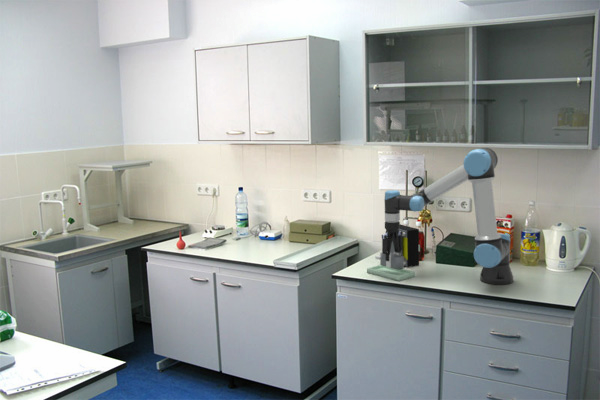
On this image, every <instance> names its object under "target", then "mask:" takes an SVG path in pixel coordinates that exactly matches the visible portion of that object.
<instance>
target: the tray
mask: <svg viewBox="0 0 600 400" xmlns="http://www.w3.org/2000/svg"><path fill="white" fill-rule="evenodd" d="M366 273H367V274H371V275H373V276H377V277H381V278H385V279H389V280H392V281H396V282H402V281H405V280H409V279H411V278H415V277H416V272H415V271H413V270H410V269H409V270H408V269H405V268H404V269H401V270H397V269H393V268H389V267H386V266H382V265H380V264H379V265H374V266H371V267H367V268H366Z"/></svg>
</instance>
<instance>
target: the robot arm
mask: <svg viewBox="0 0 600 400" xmlns="http://www.w3.org/2000/svg"><path fill="white" fill-rule="evenodd" d="M498 159H499V157H498V155H497V153H496V151H494V149H492V148H489V147H481V148H476V149H473V150H471V151H469V152H468V153H467V154H466V156H465V157H464V159H463V164H461V166H458V167H457V168H456V169H454V170H452V171H451V172H450V173H447V174H446V175H444V176H443V177H440V178H439V179H437V180H436V181H435V182H433V183H431V184H430V185H428V186H426V187H425V188H423V189H422V190H419V191H418V192H416V193H414V194H411V195H409V194H408V195H407V194H405V195H403V194H401V192H400V191H399V190H396V189H393V190H392V189H391V190H390V189H389V190H387V191H385V192H384V199H383V200H384V229H385V233H383V234H381V240H382V241H381V243H382V244H381V252H382V253H383V254H385V260H386V267H390V268H391V255H390V250H391V244H392V242H393V244H394V249H395V252H394V254H397V255H399V253H401V251H402V234H403V232H401V231H399V230H398V229H399V228H400V224H401V222H400V221H401V217H400V216H401V211H406V212H408V211H409V212H415V213H416V212H421V211H423V209H424V207H426V206H427V205H429V204H430V203H432V202H433V201H435V200H436V199H439V198H440V197H442V196H444V195H445V194H446V193H448V192H450V191H452V190H453V189H455V188H457V187H458V186H460V185H462V184H464V183H465V182H467V181H469V182H470V183H471V186H472V192H473V193H472V194H473V195H472V196H473V203H474V204H473V205H474V212H475V214H474V215H475V221H476V222H475V223H476V231H477V235H476V236H475V237H474V244H475V248H474V251H473V258H474V261H475V262H476V263H477V265H479V266H481V267H482V269H481V271H480V275H479V279H480V282H482V283H485V284H490V285H508V284H512V283H514V275H513V271H512V269H511V265H510V264H511V263H510V259H511V258H510V257H511V236H510V235H509V234H506V233H500V232H499V233H498V227H497V220H496V219H497V218H496V210H495V201H494V200H495V199H494V190H493V180H494V179H495V178H496V177H495V176H496V175H495V168H496V167H497V165H498V163H499V162H498ZM389 239H390V240H389ZM399 247H400V248H399Z"/></svg>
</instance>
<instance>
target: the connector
mask: <svg viewBox="0 0 600 400" xmlns="http://www.w3.org/2000/svg"><path fill="white" fill-rule="evenodd" d="M390 255H391V268H393V269H397V270H401V269H405V268H404V267H405V266H404V256H401V255H397V254H393V253H390ZM375 259H376V260H379V261H380V264H379V265H382V266H386V260H385V254H383V253H382V251H381V252H380V255H379V254H378V255H375ZM389 268H390V267H389Z"/></svg>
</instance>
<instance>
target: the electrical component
mask: <svg viewBox="0 0 600 400" xmlns="http://www.w3.org/2000/svg"><path fill="white" fill-rule="evenodd" d="M398 230H399V231H401V232H403V234H402V251H401V253H399V255H401V256H404V267H406V268H411V267H417V266H420V229H419V228H416V227H412V226H407V225H404V224H401V223H400V228H399V229H398ZM389 240H390V239H389ZM399 248H400V247H399ZM394 252H395V249H394V244H393V242H392V244H391V250H390V253H393V254H394Z"/></svg>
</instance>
